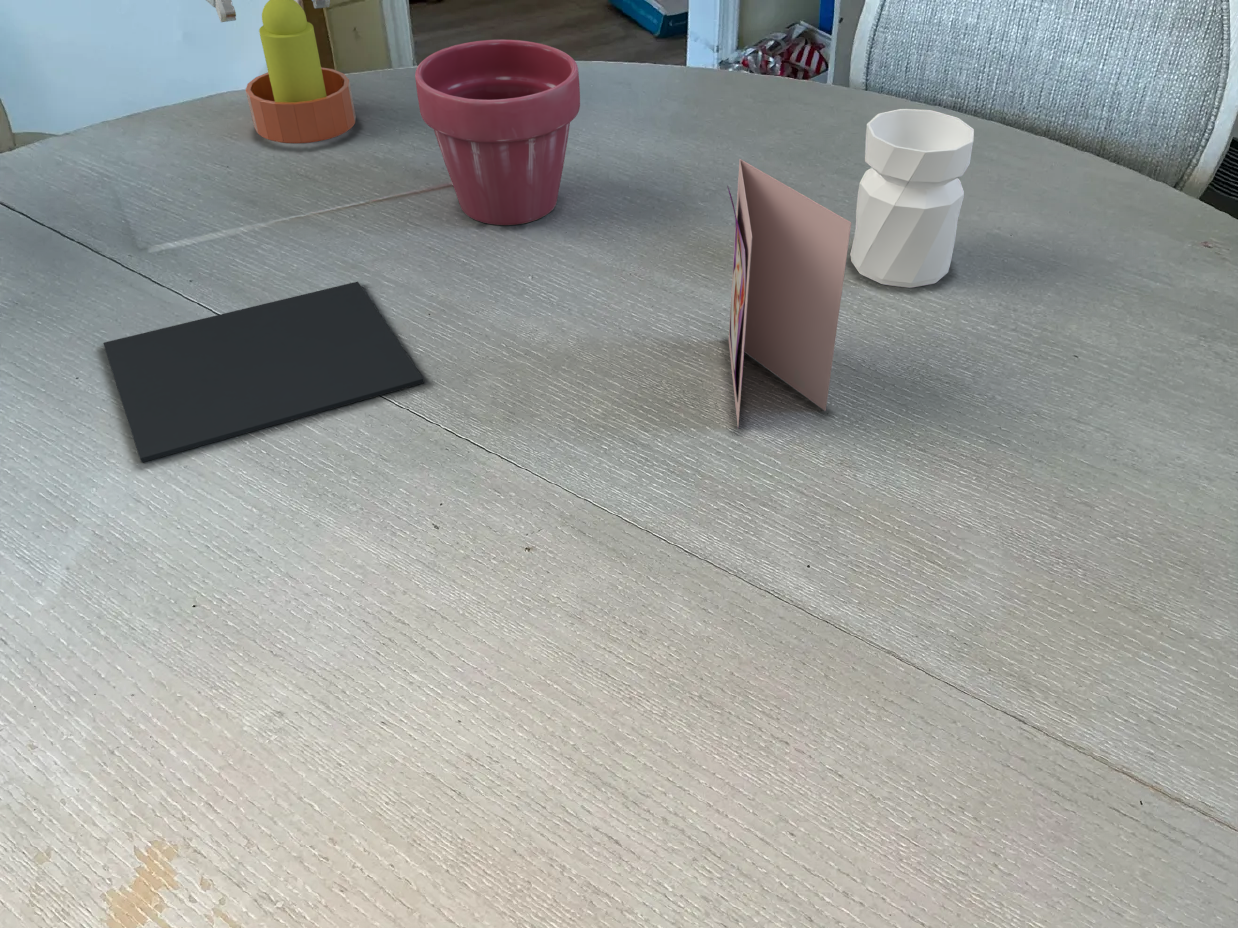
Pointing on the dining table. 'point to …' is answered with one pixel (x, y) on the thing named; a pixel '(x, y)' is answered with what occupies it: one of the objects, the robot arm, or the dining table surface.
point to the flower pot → (501, 124)
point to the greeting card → (785, 284)
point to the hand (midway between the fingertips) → (276, 12)
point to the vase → (910, 196)
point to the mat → (255, 369)
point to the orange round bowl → (302, 111)
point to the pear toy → (291, 53)
